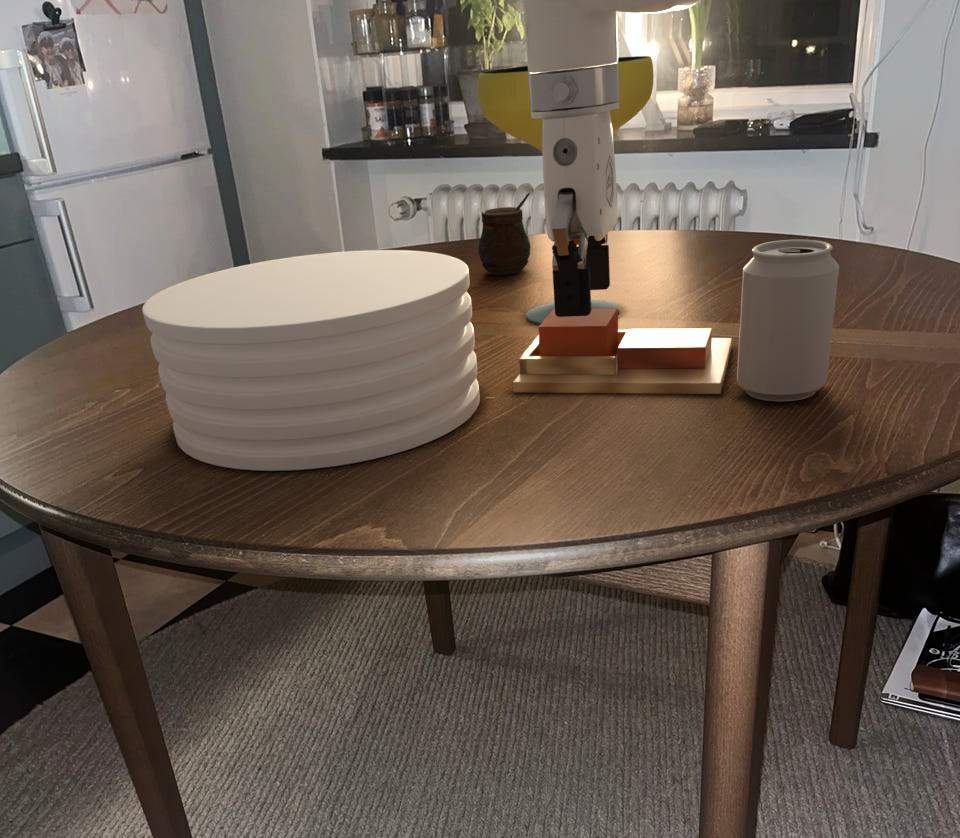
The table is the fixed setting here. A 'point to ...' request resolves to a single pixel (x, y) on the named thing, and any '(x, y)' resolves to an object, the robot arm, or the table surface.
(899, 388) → the table surface
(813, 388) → the can
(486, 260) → the mate gourd
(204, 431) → the plate stack
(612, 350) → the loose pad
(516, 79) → the cocktail glass
